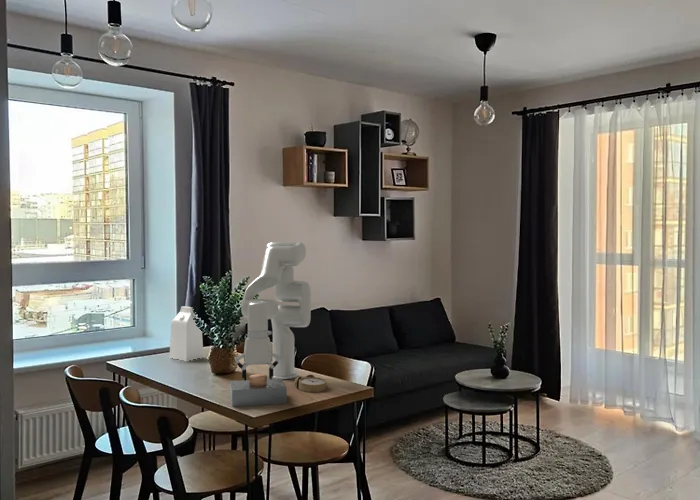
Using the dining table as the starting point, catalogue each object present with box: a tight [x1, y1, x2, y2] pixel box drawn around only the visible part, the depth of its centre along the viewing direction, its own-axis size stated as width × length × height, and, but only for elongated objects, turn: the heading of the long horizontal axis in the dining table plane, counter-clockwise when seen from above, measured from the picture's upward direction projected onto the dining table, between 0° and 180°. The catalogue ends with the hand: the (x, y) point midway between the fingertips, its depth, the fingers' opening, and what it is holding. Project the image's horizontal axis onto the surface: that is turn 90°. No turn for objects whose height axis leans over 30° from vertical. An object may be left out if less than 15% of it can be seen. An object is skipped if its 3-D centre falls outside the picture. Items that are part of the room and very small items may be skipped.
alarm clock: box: [293, 374, 329, 393], centre depth 265 cm, size 11×5×15 cm
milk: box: [168, 305, 204, 362], centre depth 325 cm, size 12×12×26 cm
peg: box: [248, 373, 268, 386], centre depth 246 cm, size 7×7×8 cm
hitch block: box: [229, 378, 288, 408], centre depth 246 cm, size 15×20×6 cm
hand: (257, 379), depth 246 cm, fingers open, 9 cm apart
